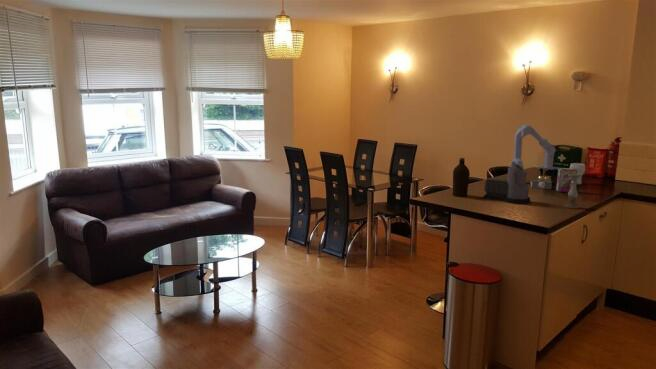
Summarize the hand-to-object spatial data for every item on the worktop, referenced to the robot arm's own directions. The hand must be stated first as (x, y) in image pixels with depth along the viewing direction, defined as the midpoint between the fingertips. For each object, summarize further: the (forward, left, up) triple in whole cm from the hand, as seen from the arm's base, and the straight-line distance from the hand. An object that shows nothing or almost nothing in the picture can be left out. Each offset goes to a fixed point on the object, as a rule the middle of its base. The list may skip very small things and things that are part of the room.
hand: (547, 178), depth 387 cm
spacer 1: (-6, -20, 0) cm, 21 cm away
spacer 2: (0, 0, -3) cm, 3 cm away
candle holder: (+6, -85, -3) cm, 85 cm away
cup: (+21, +6, -3) cm, 22 cm away
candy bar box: (+9, -33, -3) cm, 34 cm away
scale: (-6, -19, -3) cm, 20 cm away
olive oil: (-60, -75, -3) cm, 96 cm away
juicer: (-31, -78, -3) cm, 84 cm away
